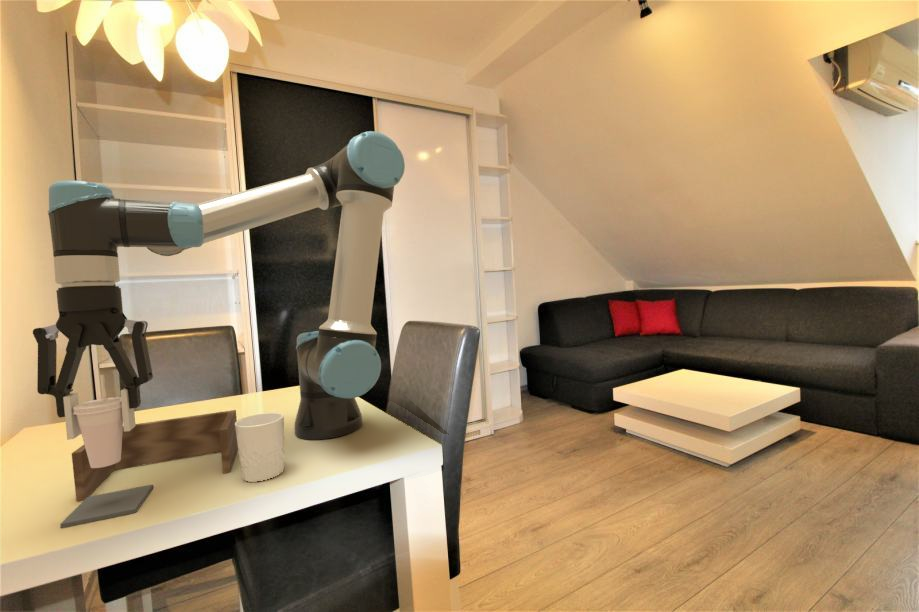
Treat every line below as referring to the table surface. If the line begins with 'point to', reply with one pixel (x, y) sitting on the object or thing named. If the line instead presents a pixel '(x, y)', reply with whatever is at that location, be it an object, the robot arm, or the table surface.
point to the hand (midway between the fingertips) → (102, 432)
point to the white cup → (261, 446)
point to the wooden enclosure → (163, 446)
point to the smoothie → (101, 428)
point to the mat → (108, 506)
